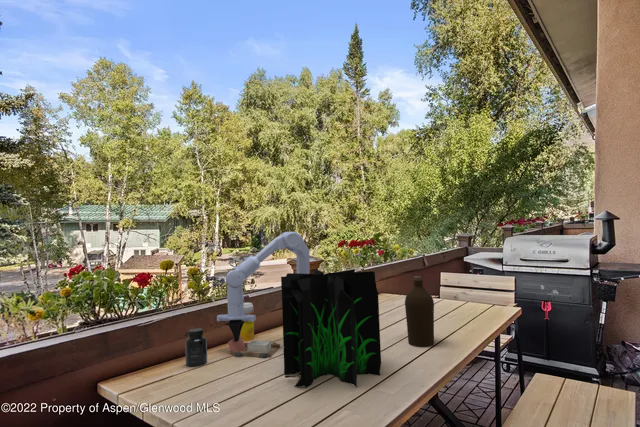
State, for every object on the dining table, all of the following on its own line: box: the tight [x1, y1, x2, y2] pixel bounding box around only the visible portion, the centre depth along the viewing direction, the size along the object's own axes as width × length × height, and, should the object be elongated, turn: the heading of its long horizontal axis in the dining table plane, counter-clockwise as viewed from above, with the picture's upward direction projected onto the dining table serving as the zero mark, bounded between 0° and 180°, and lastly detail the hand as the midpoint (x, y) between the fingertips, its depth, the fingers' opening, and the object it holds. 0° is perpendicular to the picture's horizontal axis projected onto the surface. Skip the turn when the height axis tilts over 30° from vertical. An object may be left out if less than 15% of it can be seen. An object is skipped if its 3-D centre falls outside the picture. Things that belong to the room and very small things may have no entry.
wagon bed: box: [231, 342, 281, 359], centre depth 134 cm, size 14×12×3 cm
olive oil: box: [404, 275, 435, 348], centre depth 141 cm, size 11×11×25 cm
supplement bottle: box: [184, 327, 208, 368], centre depth 125 cm, size 7×7×12 cm
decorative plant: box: [280, 268, 382, 389], centre depth 117 cm, size 29×30×30 cm
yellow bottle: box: [240, 302, 255, 342], centre depth 152 cm, size 6×6×15 cm
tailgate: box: [227, 336, 247, 353], centre depth 136 cm, size 1×8×6 cm, turn 168°
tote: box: [246, 340, 272, 353], centre depth 134 cm, size 7×5×3 cm
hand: (236, 340), depth 136 cm, fingers closed, pressing on tailgate
